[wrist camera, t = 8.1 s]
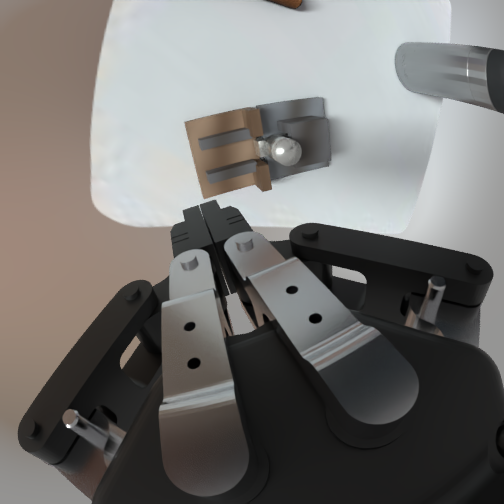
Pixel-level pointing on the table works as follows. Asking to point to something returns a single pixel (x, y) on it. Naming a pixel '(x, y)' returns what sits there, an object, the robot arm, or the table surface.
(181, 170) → the table surface
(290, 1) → the sunglasses case
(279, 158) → the steel bolt
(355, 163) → the table surface
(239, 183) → the plate
